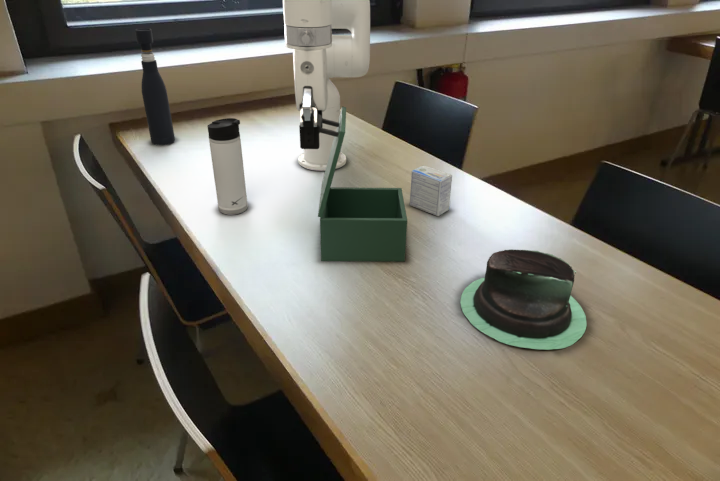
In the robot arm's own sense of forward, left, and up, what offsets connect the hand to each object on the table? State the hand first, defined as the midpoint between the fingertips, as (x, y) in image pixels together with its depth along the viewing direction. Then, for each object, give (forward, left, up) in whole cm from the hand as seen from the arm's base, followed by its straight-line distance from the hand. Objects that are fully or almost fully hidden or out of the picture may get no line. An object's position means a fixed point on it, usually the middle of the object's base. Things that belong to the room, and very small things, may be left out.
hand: (311, 138), depth 94 cm
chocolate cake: (+21, +35, -22) cm, 46 cm away
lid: (0, +4, -4) cm, 6 cm away
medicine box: (-15, +24, -22) cm, 36 cm away
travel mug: (-14, -19, -22) cm, 32 cm away
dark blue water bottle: (-55, -47, -22) cm, 75 cm away
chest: (0, +9, -21) cm, 23 cm away
